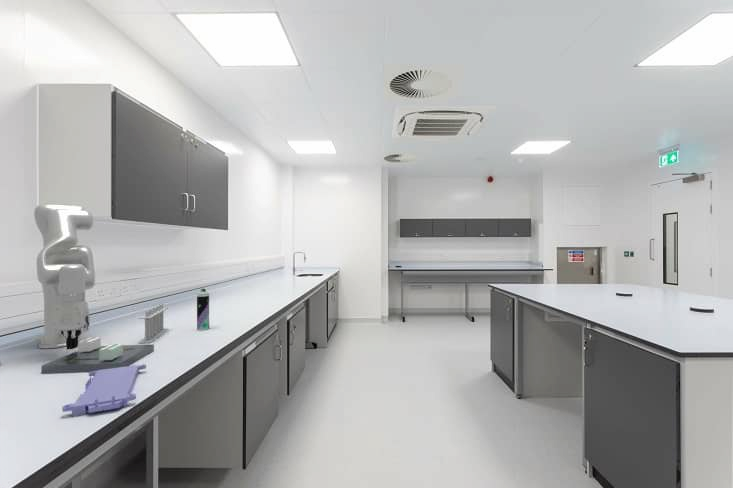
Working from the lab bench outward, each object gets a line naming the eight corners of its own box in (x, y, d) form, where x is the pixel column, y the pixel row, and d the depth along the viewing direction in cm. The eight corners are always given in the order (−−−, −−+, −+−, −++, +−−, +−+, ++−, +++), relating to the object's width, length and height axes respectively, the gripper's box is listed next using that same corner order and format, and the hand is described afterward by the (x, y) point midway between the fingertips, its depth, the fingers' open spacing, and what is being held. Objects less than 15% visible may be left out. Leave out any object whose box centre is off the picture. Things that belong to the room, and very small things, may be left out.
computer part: (58, 423, 82) (134, 409, 89) (58, 405, 82) (134, 392, 89) (89, 379, 109) (146, 371, 116) (90, 366, 109) (146, 359, 116)
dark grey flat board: (41, 373, 114) (41, 365, 114) (88, 352, 135) (88, 346, 135) (120, 370, 116) (120, 362, 116) (154, 350, 138) (153, 344, 138)
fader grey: (78, 351, 127) (78, 341, 127) (89, 347, 133) (89, 337, 133) (89, 351, 128) (89, 341, 128) (100, 346, 134) (100, 336, 134)
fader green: (99, 360, 118) (99, 349, 118) (110, 354, 124) (110, 344, 124) (112, 359, 118) (112, 348, 118) (122, 354, 124) (122, 343, 124)
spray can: (197, 330, 170) (197, 289, 170) (196, 328, 175) (196, 288, 175) (209, 329, 172) (209, 288, 173) (208, 327, 177) (208, 287, 177)
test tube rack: (150, 343, 149) (150, 312, 149) (138, 344, 148) (138, 312, 148) (168, 329, 173) (168, 303, 173) (158, 330, 172) (158, 303, 172)
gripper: (41, 300, 125) (41, 352, 125) (86, 299, 127) (86, 350, 127) (58, 297, 133) (58, 346, 133) (100, 296, 134) (100, 344, 134)
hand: (72, 348), depth 130 cm, fingers closed
